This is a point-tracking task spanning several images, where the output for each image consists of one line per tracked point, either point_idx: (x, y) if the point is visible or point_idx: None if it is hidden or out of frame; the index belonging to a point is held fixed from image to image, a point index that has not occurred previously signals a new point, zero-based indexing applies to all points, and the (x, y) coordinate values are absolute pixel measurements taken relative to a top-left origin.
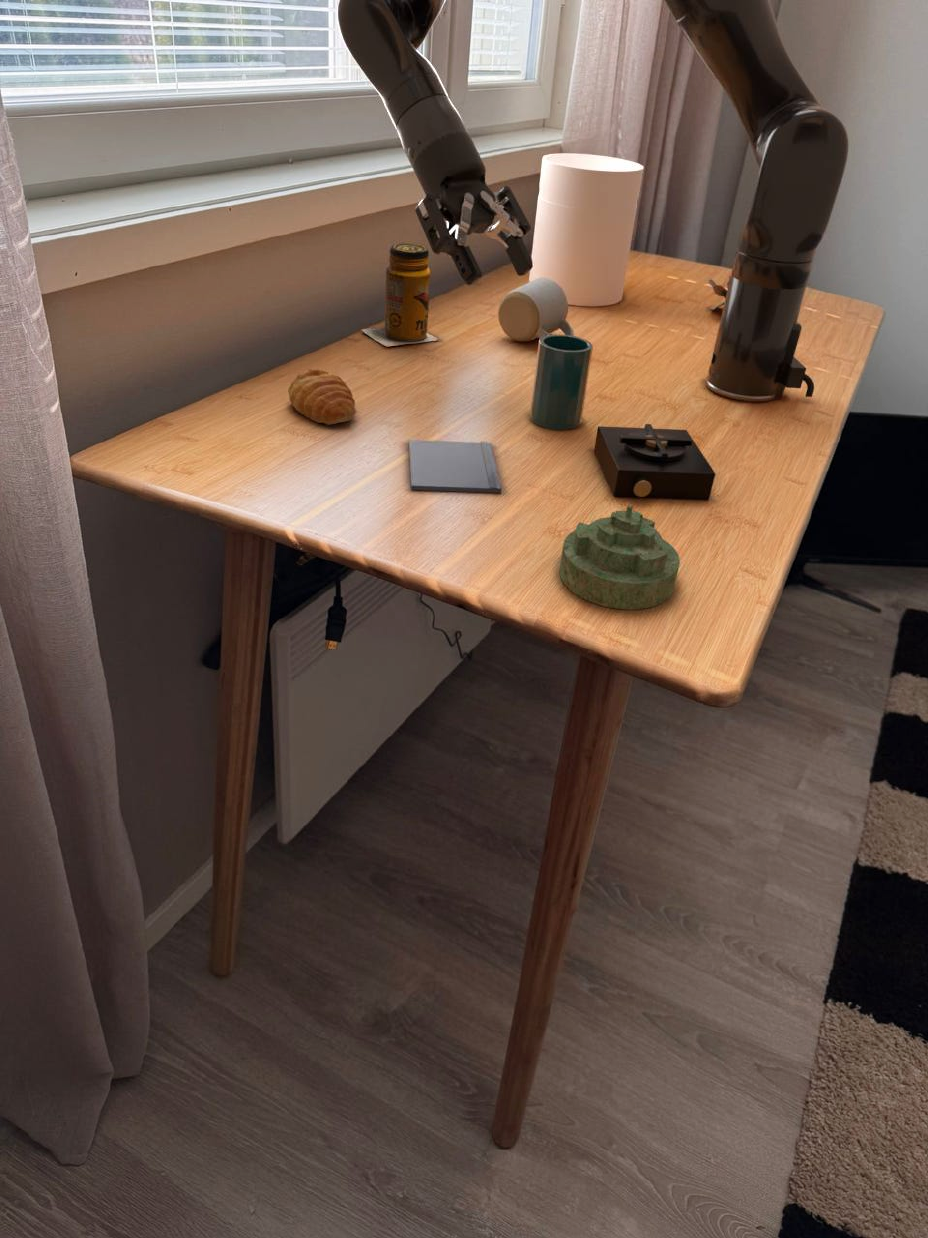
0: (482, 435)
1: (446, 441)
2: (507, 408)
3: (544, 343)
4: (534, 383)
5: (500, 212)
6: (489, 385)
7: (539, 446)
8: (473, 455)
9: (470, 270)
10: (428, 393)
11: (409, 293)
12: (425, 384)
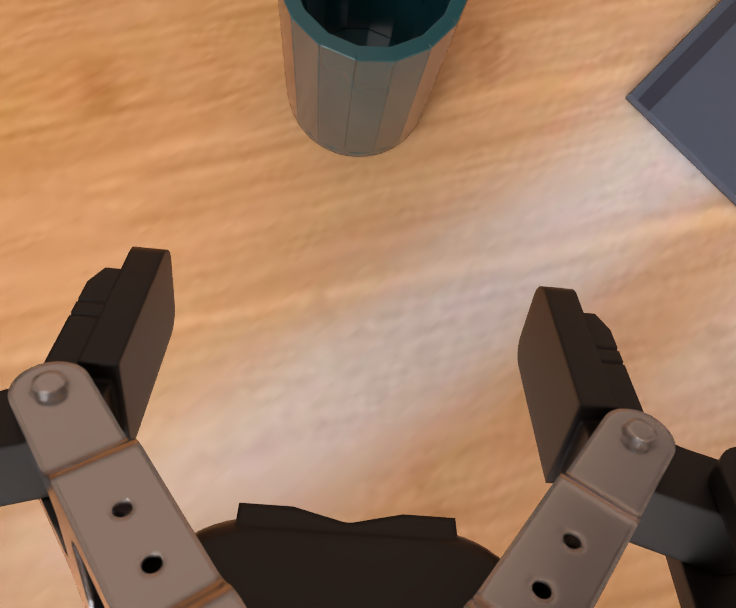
0: (587, 155)
1: (710, 169)
2: (396, 225)
3: (445, 14)
4: (417, 102)
5: (139, 511)
6: (297, 372)
7: (524, 24)
8: (713, 78)
9: (593, 326)
10: (493, 442)
11: None
12: (448, 499)
